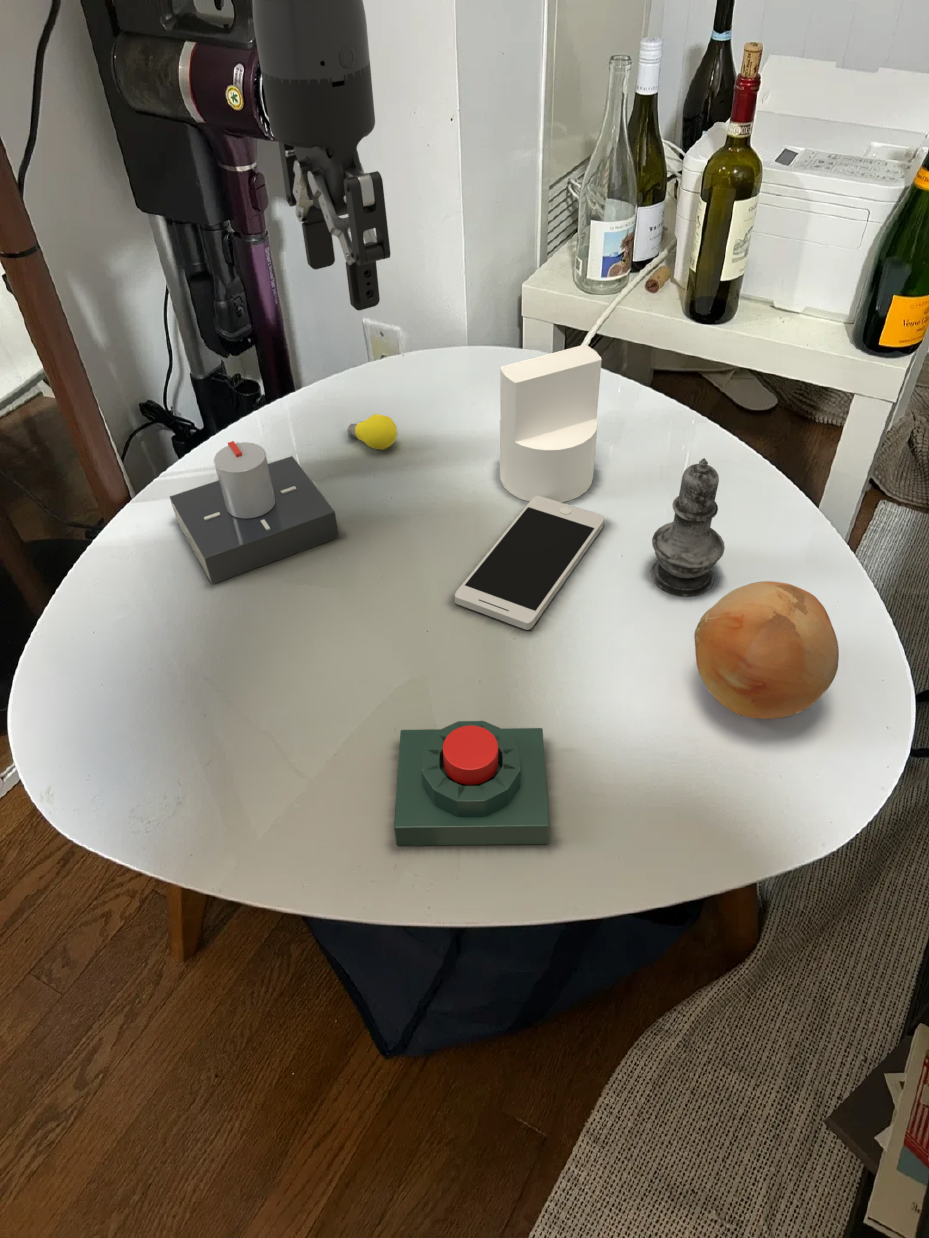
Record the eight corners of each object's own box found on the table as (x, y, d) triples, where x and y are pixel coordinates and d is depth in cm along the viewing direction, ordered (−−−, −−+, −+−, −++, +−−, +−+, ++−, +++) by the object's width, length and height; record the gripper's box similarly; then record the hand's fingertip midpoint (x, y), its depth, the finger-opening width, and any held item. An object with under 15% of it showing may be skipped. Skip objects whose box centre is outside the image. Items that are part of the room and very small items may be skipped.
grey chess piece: (643, 593, 77) (661, 476, 69) (650, 548, 81) (668, 432, 73) (715, 603, 76) (742, 486, 68) (719, 557, 80) (745, 441, 72)
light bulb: (393, 457, 92) (375, 432, 89) (349, 454, 95) (331, 430, 93) (408, 432, 93) (392, 407, 90) (365, 430, 97) (348, 405, 94)
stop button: (443, 785, 60) (442, 770, 58) (444, 741, 62) (443, 725, 61) (498, 785, 60) (498, 769, 58) (497, 740, 62) (497, 724, 61)
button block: (396, 846, 61) (391, 812, 58) (402, 748, 66) (398, 713, 64) (548, 844, 61) (550, 810, 58) (541, 746, 66) (543, 711, 63)
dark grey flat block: (212, 584, 79) (203, 557, 77) (177, 522, 86) (168, 494, 83) (339, 537, 83) (335, 510, 81) (297, 481, 90) (292, 454, 87)
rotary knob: (283, 508, 82) (272, 458, 78) (235, 524, 80) (223, 475, 76) (265, 482, 84) (254, 433, 81) (219, 498, 83) (206, 449, 79)
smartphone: (605, 523, 84) (606, 515, 83) (529, 631, 74) (529, 623, 73) (534, 501, 86) (535, 493, 85) (452, 603, 77) (452, 595, 76)
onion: (687, 638, 73) (707, 542, 66) (817, 656, 72) (852, 559, 65) (680, 733, 67) (702, 638, 60) (823, 755, 65) (863, 660, 58)
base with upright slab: (564, 439, 93) (570, 329, 85) (610, 487, 87) (622, 374, 79) (484, 463, 91) (482, 352, 82) (526, 514, 85) (528, 400, 76)
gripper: (227, 44, 66) (267, 265, 78) (304, 94, 57) (336, 334, 69) (323, 28, 69) (348, 244, 80) (411, 73, 60) (425, 309, 71)
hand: (343, 285), depth 75 cm, fingers open, 8 cm apart
